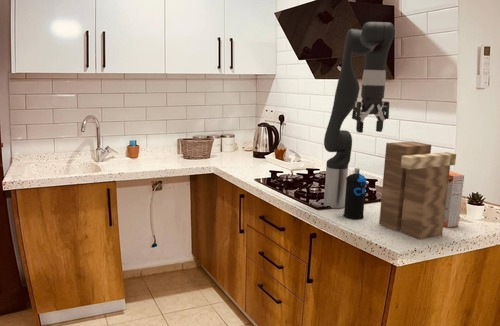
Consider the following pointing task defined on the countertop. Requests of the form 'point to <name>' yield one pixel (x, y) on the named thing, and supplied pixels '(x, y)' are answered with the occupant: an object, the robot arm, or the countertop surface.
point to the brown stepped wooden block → (413, 193)
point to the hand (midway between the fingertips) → (369, 132)
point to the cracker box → (453, 200)
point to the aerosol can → (355, 195)
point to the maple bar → (428, 160)
